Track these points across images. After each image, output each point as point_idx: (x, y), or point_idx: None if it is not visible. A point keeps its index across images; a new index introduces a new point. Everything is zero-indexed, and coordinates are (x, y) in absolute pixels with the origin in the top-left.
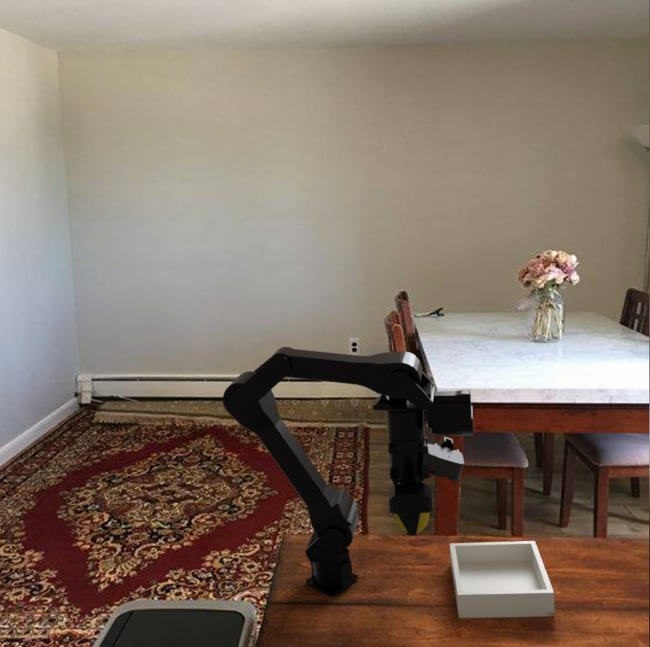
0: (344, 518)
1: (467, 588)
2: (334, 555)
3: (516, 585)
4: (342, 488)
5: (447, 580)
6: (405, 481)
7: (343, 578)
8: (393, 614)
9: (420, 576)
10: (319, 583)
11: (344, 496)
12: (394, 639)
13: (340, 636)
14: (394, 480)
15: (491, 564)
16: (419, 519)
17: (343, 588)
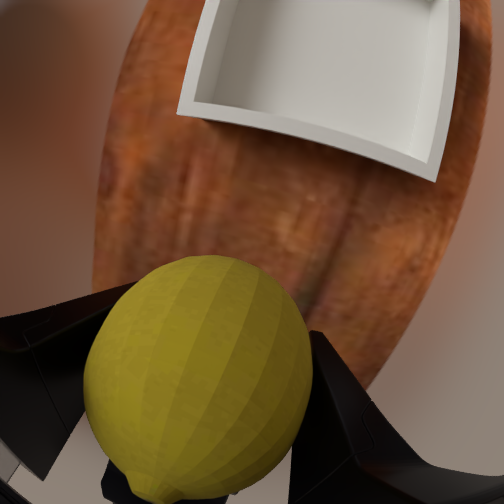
0: (223, 501)
1: (331, 113)
2: None
3: (345, 8)
4: (111, 501)
5: (264, 144)
6: (31, 427)
7: None
8: (348, 298)
9: (231, 204)
10: None
11: (138, 500)
12: (411, 311)
13: (362, 379)
14: (48, 460)
15: (242, 27)
16: (311, 363)
17: None
